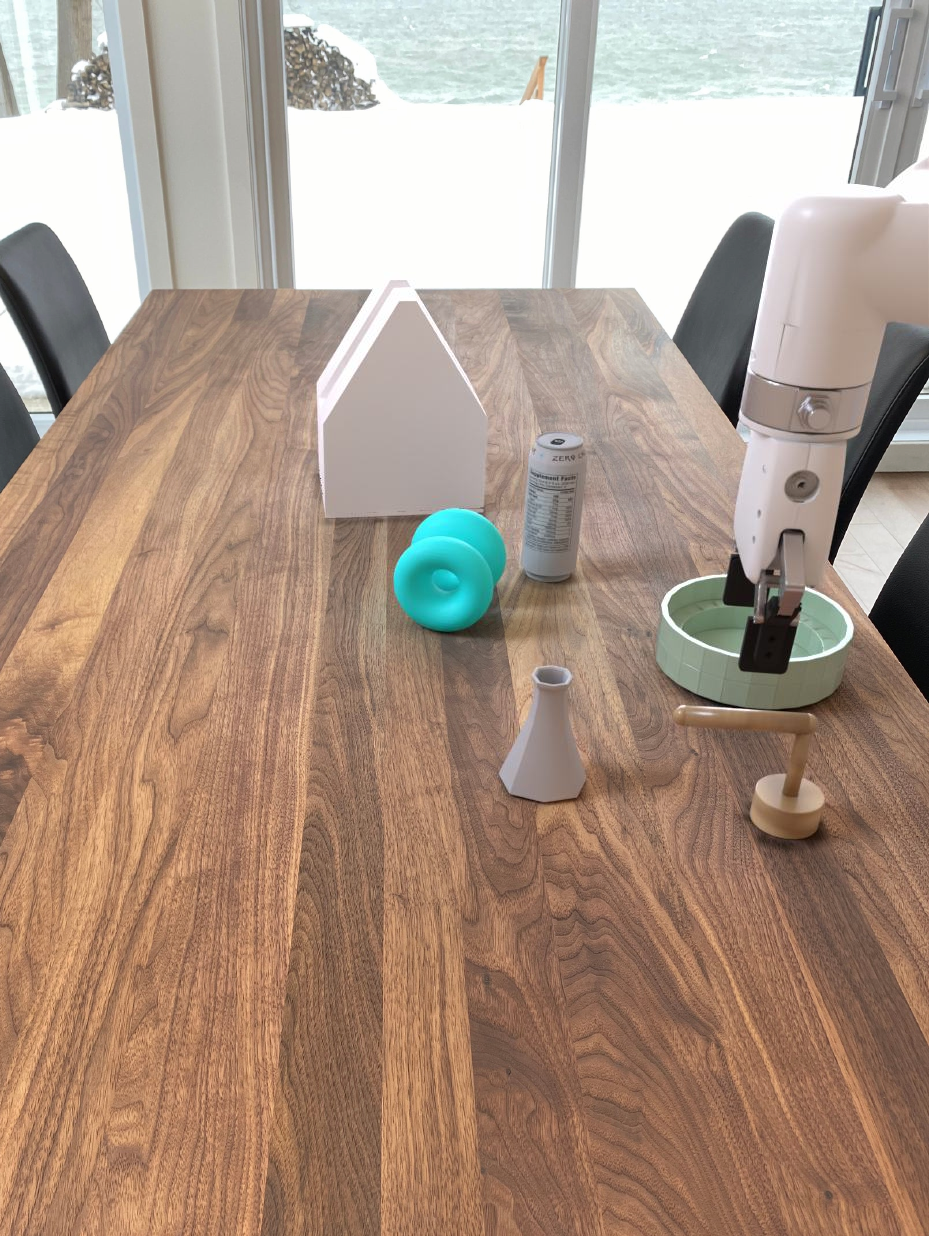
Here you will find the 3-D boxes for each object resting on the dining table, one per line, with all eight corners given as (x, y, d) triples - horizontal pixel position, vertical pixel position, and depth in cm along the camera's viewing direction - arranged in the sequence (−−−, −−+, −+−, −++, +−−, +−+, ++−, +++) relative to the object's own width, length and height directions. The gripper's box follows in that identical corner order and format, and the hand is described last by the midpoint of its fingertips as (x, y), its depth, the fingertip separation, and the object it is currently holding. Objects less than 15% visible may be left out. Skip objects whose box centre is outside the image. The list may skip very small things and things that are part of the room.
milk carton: (325, 518, 142) (319, 303, 128) (319, 470, 155) (313, 270, 141) (483, 512, 143) (495, 298, 129) (464, 465, 156) (473, 266, 142)
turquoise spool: (505, 597, 125) (511, 509, 119) (487, 642, 117) (493, 550, 111) (413, 586, 127) (415, 499, 121) (389, 630, 119) (390, 538, 113)
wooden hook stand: (812, 801, 95) (838, 698, 90) (823, 842, 91) (852, 736, 85) (655, 790, 97) (672, 688, 91) (659, 829, 92) (677, 724, 87)
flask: (584, 756, 101) (596, 654, 95) (588, 807, 95) (602, 702, 89) (498, 751, 101) (505, 650, 96) (498, 802, 95) (505, 697, 90)
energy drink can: (583, 567, 131) (598, 435, 122) (562, 589, 126) (575, 453, 118) (533, 556, 133) (544, 426, 125) (511, 576, 129) (520, 443, 120)
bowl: (822, 628, 119) (834, 579, 116) (857, 721, 105) (871, 667, 102) (649, 618, 121) (656, 569, 118) (660, 707, 107) (668, 655, 104)
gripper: (895, 452, 68) (828, 704, 77) (838, 363, 82) (787, 586, 91) (761, 444, 68) (710, 695, 78) (727, 358, 83) (688, 580, 92)
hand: (752, 636), depth 85 cm, fingers open, 9 cm apart
